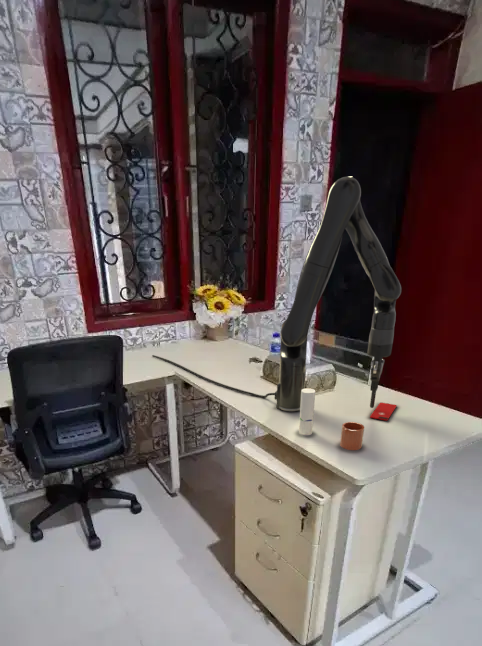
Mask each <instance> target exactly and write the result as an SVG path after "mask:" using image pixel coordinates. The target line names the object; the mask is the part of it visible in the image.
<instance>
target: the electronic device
mask: <svg viewBox="0 0 482 646" xmlns="http://www.w3.org/2000/svg"><path fill="white" fill-rule="evenodd" d="M397 406H398V405H397V404H393V403H387V402H379V404H378V405H377V406H376V408H375V409H374V410H373V411H372V413H371V414H370V416H369V418H370V419H374V420H380V421H385V422H387V421H388V420H389V419H390V417H391V416H392V414H393V413H394V411H395V409H396V408H397Z"/></svg>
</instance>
